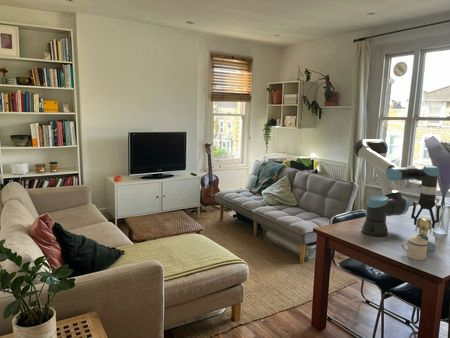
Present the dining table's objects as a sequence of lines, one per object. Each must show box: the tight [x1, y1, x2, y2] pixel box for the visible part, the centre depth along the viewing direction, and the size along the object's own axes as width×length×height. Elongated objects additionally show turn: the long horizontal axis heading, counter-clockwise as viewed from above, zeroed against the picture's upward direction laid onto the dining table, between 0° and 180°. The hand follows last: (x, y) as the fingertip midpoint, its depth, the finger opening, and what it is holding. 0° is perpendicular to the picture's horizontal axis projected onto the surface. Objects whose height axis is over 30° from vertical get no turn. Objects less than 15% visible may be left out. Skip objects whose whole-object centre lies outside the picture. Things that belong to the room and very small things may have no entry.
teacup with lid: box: [401, 236, 428, 261], centre depth 178 cm, size 12×9×12 cm
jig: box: [409, 232, 436, 252], centre depth 194 cm, size 12×12×4 cm
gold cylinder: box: [417, 217, 432, 237], centre depth 193 cm, size 6×6×10 cm
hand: (423, 231), depth 193 cm, fingers closed on gold cylinder, 6 cm apart
